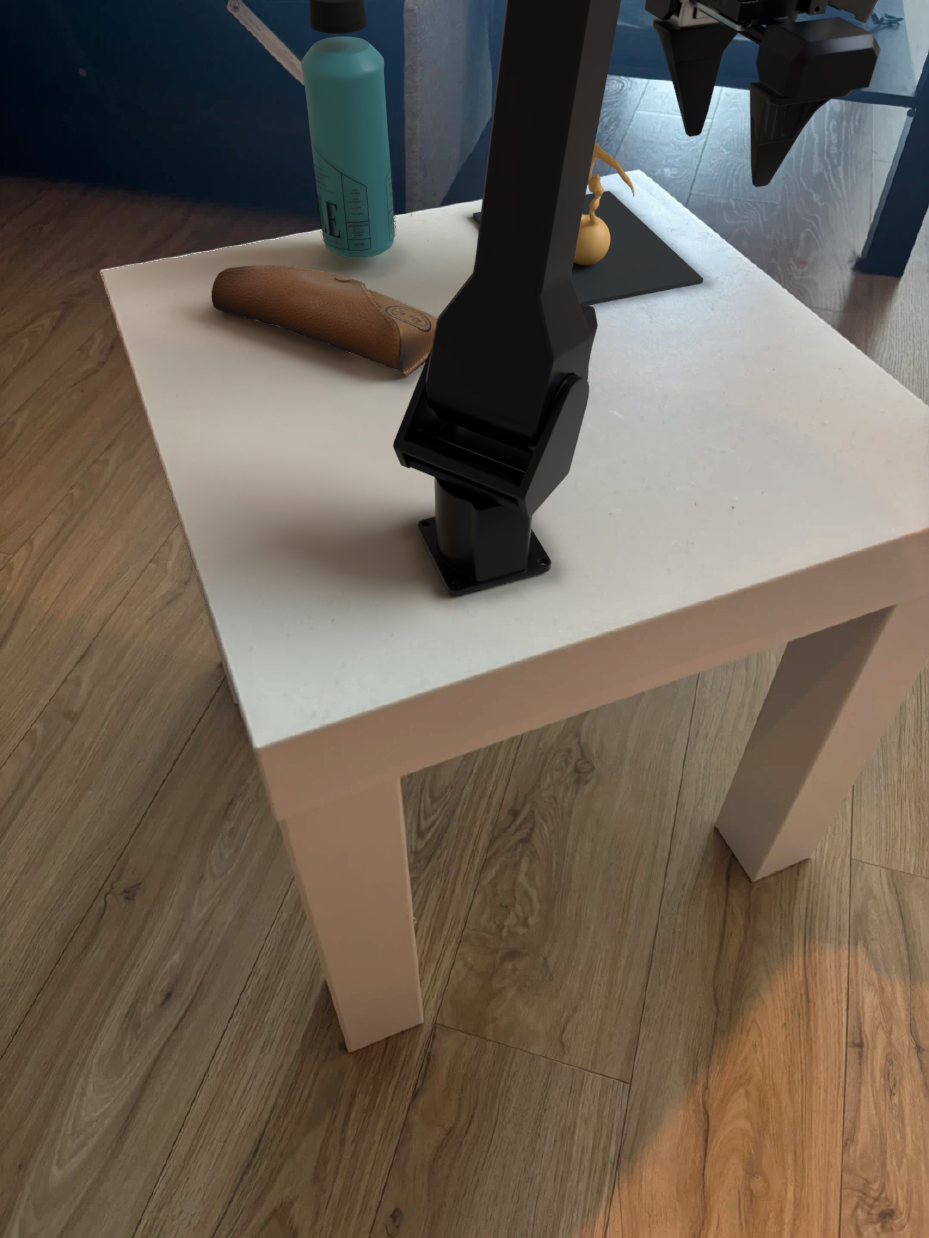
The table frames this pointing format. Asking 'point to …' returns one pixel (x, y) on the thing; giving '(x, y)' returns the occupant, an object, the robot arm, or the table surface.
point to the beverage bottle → (349, 133)
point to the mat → (627, 258)
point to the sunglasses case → (328, 312)
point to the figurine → (592, 228)
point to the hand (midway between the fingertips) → (725, 159)
